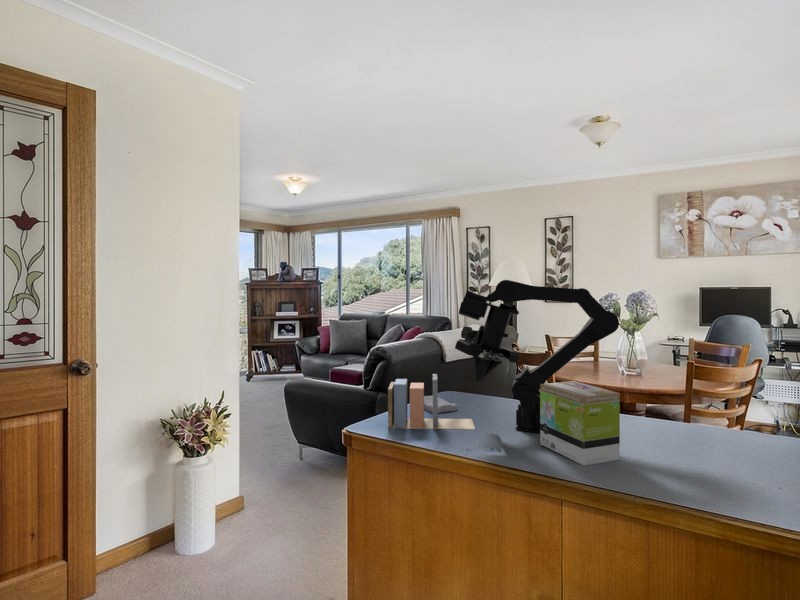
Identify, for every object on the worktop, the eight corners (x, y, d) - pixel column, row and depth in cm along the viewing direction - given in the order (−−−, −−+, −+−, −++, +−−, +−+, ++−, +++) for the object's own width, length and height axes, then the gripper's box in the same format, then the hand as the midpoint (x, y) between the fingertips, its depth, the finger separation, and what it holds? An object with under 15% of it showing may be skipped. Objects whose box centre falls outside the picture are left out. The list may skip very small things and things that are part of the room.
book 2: (424, 419, 136) (423, 382, 136) (423, 427, 128) (423, 388, 128) (411, 419, 137) (410, 382, 136) (409, 427, 129) (409, 388, 129)
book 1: (407, 419, 137) (407, 378, 137) (405, 427, 129) (405, 384, 129) (396, 419, 137) (396, 378, 137) (394, 427, 129) (394, 384, 129)
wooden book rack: (471, 423, 137) (471, 382, 136) (475, 433, 127) (475, 389, 127) (391, 422, 138) (391, 381, 138) (388, 432, 128) (387, 388, 128)
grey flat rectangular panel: (437, 417, 137) (437, 374, 137) (437, 427, 128) (437, 379, 128) (432, 417, 137) (432, 373, 137) (432, 426, 128) (432, 379, 128)
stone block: (440, 412, 158) (412, 409, 153) (443, 397, 158) (415, 393, 154) (461, 422, 147) (431, 419, 143) (464, 406, 147) (434, 402, 143)
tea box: (538, 445, 117) (538, 382, 117) (573, 441, 120) (573, 379, 120) (583, 467, 103) (583, 395, 103) (621, 460, 106) (621, 391, 106)
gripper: (498, 323, 145) (482, 374, 146) (450, 312, 134) (433, 367, 135) (527, 334, 135) (509, 388, 137) (478, 323, 125) (460, 383, 126)
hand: (478, 381), depth 134 cm, fingers closed
